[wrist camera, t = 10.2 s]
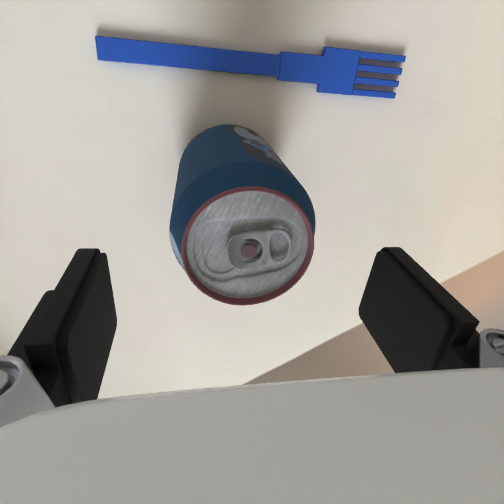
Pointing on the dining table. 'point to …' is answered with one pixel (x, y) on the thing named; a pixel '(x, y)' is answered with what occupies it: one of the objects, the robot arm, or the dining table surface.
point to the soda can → (240, 218)
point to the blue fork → (260, 63)
